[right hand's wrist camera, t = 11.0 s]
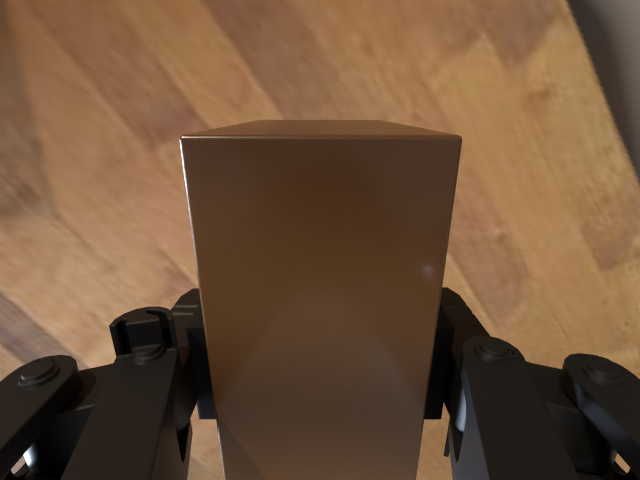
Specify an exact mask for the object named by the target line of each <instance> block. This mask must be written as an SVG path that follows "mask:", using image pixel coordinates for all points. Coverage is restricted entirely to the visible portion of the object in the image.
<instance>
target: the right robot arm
mask: <svg viewBox="0 0 640 480" xmlns="http://www.w3.org/2000/svg"><path fill="white" fill-rule="evenodd" d="M109 328H110V332H111V336H112V340H113V344H114V349H115V353H116V359H115V362H114V363H113V364H109V365H105V366H100V367H95V368H90V369H85V370H81V371H79V370H78V366H77V363H76V360H75V359H73V358H72V357H71V356H65V355H56V356H47V357H43V358H41V359H40V358H39V359H36V360H33V361H32V362H30V363H28V364H26V365H23V366H21V367H19V368H18V369H17V370H15V371H14V372H12V373H11V374H9V375H8V376H7V377H5V378H4V379H3V380H2V381H1V382H0V480H187V476H188V467H189V459H190V450H191V441H192V426H191V420H190V417H191V415H192V413H193V410H194V408H195V406H196V403H197V408H198V414H199V419H216V413H215V405H214V398H213V390H212V383H211V375H210V368H209V360H208V353H207V345H206V337H205V330H204V322H203V315H202V307H201V300H200V292H199V289H192V290H190V291H189V292H187V293H185V294H184V295H182V296H181V297H180V298H179V300H178V301H177V302H176V304H175V305H174V307H173V308H172V309H171V310H169V309H167V308H163V307H145V308H140V309H135V310H133V311H130V312H127V313H125V314H123V315H121V316H120V317H118V318H116V319H115V320H114V321H113V322H112V323H111V324H110V325H109ZM443 403H445V406H446V408H447V410H448V413H449V415H450V420H449V426H448V432H447V438H446V444H445V451H444V456H447V457H449V452H450V458H451V466H452V475H453V480H640V379H639V378H637V377H636V376H635V375H634V374H633V373H631V372H630V371H628V370H627V369H625V368H624V367H622V366H621V365H619V364H617V363H614V362H612V361H610V360H609V359H606V358H603V357H599V356H596V355H590V354H581V353H579V354H572V355H569V356H568V357H567V358H565V360H564V364H563V367H562V369H558V368H553V367H548V366H543V365H538V364H533V363H530V362H526V361H525V359H524V357H523V355H522V354H521V353H520V351H519V350H518V349H517V348H515V347H514V346H512V345H511V344H510V343H508V342H505V341H503V340H501V339H499V338H495V337H491V336H490V335H489V334H488V332H487V331H486V330H485V328H484V327H483V326H482V324H481V323H480V322H479V321H478V319H477V318H476V317H475V315H474V314H472V311H471V310H470V309H469V307H468V306H466V303H465V302H464V301H463V299H462V298H461V297H460V295H458V294H457V293H455V292H454V291H452V290H450V289H449V288H447V287H442V292H441V299H440V306H439V314H438V321H437V328H436V336H435V343H434V350H433V358H432V365H431V372H430V380H429V387H428V394H427V402H426V409H425V416H424V419H441V416H442V409H443ZM617 453H618V454H619V455H620V456H621V457H622V459H623V460H624V461H625V462H626V463H627V464H628V465H629V467H630V470H629V472H628V473H626V472H625V471H624V470H623V469H622V468H621V467H620V466H619V465H618V464H617V463H616V461H615V458H616V455H617ZM23 455H24V457H25V460H26V463H25V464H24V465H23V466H22V467H21V469H20V470H18V471H17V472H16V473H15V474H13V473H12V472H11V468H12V467H13V466H14V465H15V464H16V463H17V462H18V460H19V459H20V458H21V457H22V456H23Z"/></svg>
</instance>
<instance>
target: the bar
mask: <svg viewBox="0 0 640 480" xmlns="http://www.w3.org/2000/svg"><path fill="white" fill-rule="evenodd" d="M179 141H180V149H181V156H182V164H183V171H184V179H185V186H186V194H187V202H188V209H189V217H190V224H191V232H192V239H193V247H194V254H195V262H196V269H197V277H198V285H199V292H200V300H201V307H202V315H203V322H204V330H205V337H206V345H207V353H208V360H209V368H210V375H211V383H212V390H213V398H214V405H215V413H216V420H217V428H218V436H219V443H220V451H221V458H222V466H223V473H224V480H416V475H417V468H418V460H419V453H420V446H421V438H422V431H423V424H424V416H425V409H426V402H427V394H428V387H429V380H430V372H431V365H432V358H433V350H434V343H435V336H436V328H437V321H438V314H439V306H440V299H441V292H442V284H443V277H444V270H445V262H446V255H447V248H448V240H449V233H450V226H451V218H452V211H453V204H454V196H455V189H456V182H457V174H458V167H459V160H460V152H461V145H462V138H461V136H459V135H454V134H449V133H444V132H439V131H434V130H428V129H423V128H418V127H413V126H408V125H403V124H397V123H392V122H387V121H382V120H258V121H252V122H247V123H242V124H237V125H232V126H227V127H222V128H216V129H211V130H206V131H201V132H196V133H191V134H186V135H182V136H180V139H179Z"/></svg>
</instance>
